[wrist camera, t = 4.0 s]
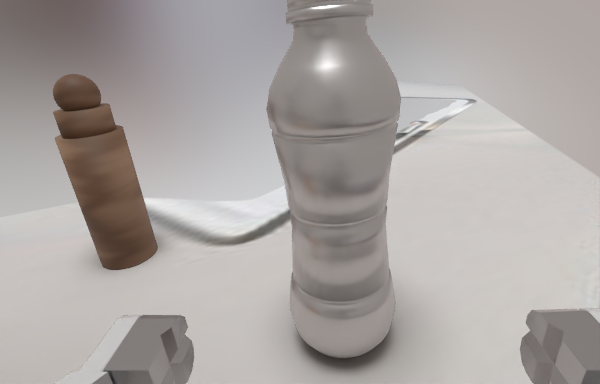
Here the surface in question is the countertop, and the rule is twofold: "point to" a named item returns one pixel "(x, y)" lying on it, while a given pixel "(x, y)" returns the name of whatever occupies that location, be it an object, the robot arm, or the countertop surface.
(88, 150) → the pepper mill
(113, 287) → the countertop surface
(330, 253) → the plastic bottle
